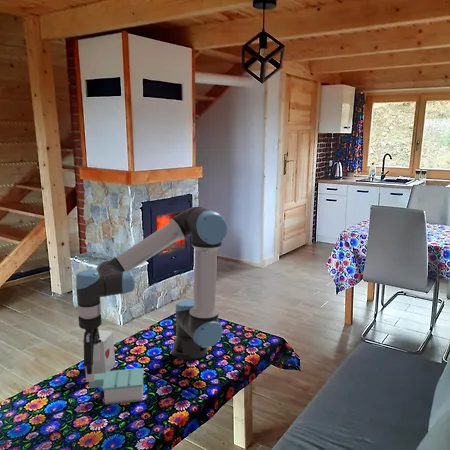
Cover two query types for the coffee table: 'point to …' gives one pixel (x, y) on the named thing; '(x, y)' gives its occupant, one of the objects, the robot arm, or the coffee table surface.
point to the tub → (123, 395)
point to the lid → (119, 379)
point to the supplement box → (105, 353)
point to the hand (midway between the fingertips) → (93, 370)
